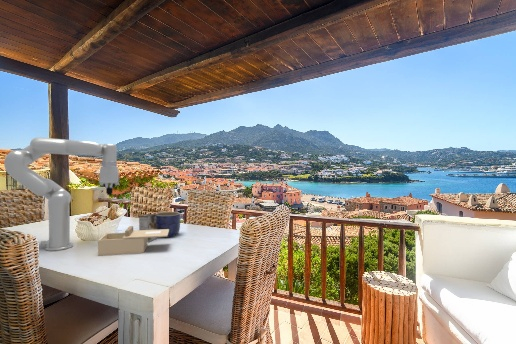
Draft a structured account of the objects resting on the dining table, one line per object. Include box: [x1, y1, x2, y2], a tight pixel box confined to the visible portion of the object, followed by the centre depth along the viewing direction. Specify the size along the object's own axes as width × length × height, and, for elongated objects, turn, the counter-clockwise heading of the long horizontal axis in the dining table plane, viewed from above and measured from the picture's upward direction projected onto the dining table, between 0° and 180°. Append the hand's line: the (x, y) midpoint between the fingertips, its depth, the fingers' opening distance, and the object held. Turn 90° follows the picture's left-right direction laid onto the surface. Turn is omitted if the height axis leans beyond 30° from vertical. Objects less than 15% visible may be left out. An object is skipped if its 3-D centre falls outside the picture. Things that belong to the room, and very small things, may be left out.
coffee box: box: [138, 213, 157, 244], centre depth 172 cm, size 9×6×16 cm
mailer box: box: [97, 232, 148, 257], centre depth 152 cm, size 22×15×8 cm
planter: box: [155, 211, 181, 238], centre depth 185 cm, size 17×17×15 cm
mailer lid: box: [123, 225, 169, 239], centre depth 155 cm, size 22×15×4 cm
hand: (109, 194), depth 166 cm, fingers closed
